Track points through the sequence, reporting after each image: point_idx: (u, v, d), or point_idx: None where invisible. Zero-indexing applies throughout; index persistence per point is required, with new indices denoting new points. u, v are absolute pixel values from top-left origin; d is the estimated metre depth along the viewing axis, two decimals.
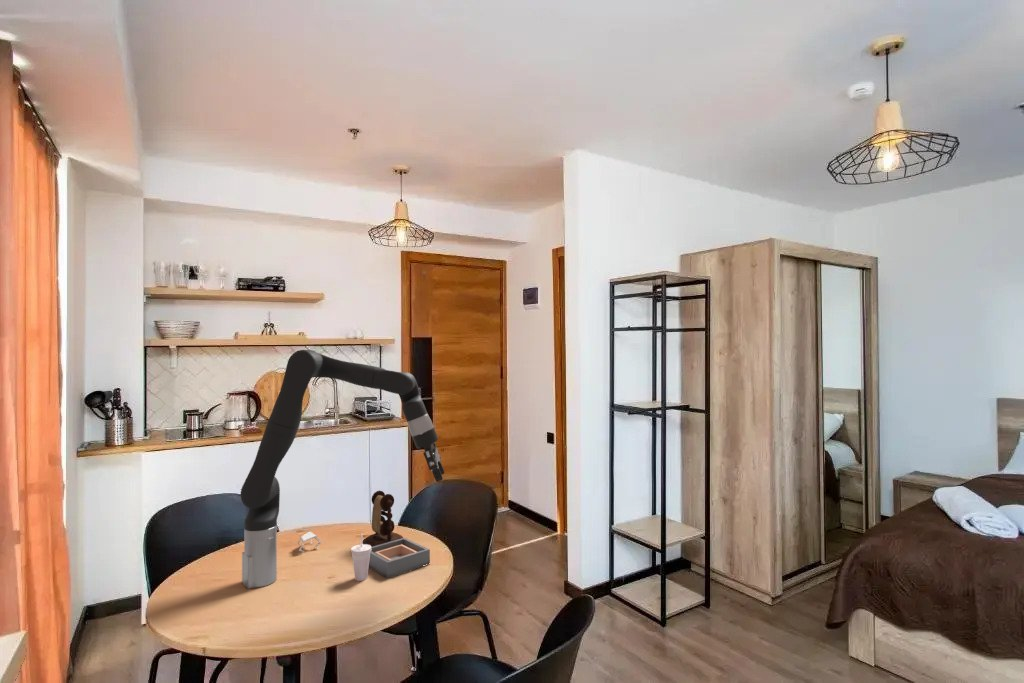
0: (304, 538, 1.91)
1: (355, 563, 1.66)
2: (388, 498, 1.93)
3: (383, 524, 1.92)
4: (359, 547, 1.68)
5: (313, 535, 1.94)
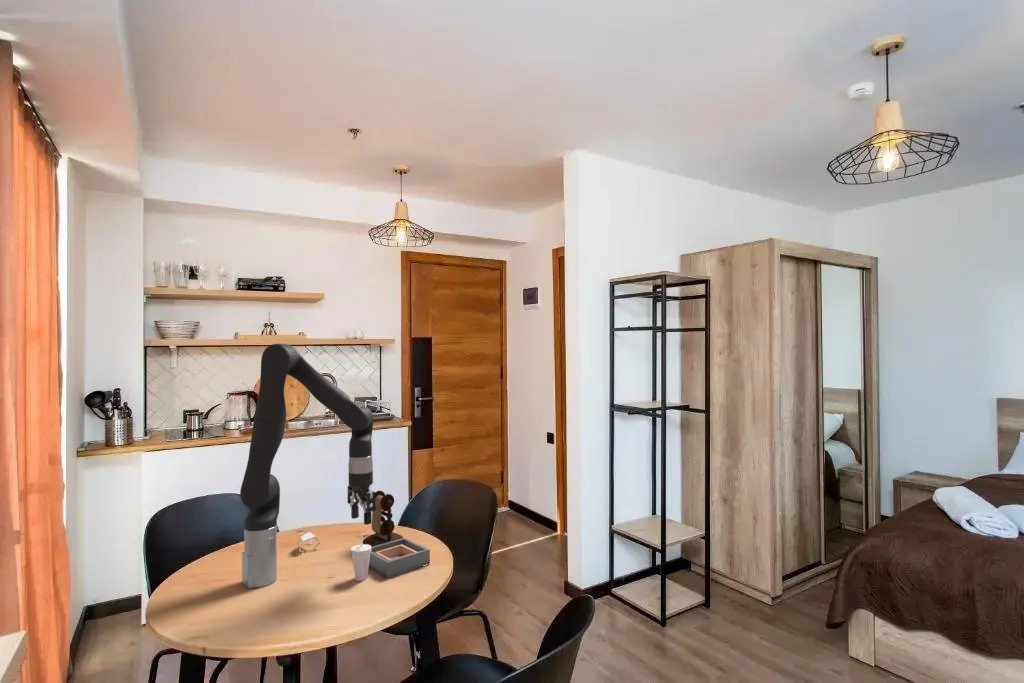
0: (303, 539, 1.90)
1: (355, 563, 1.66)
2: (388, 498, 1.93)
3: (383, 524, 1.92)
4: (359, 547, 1.68)
5: (312, 535, 1.93)
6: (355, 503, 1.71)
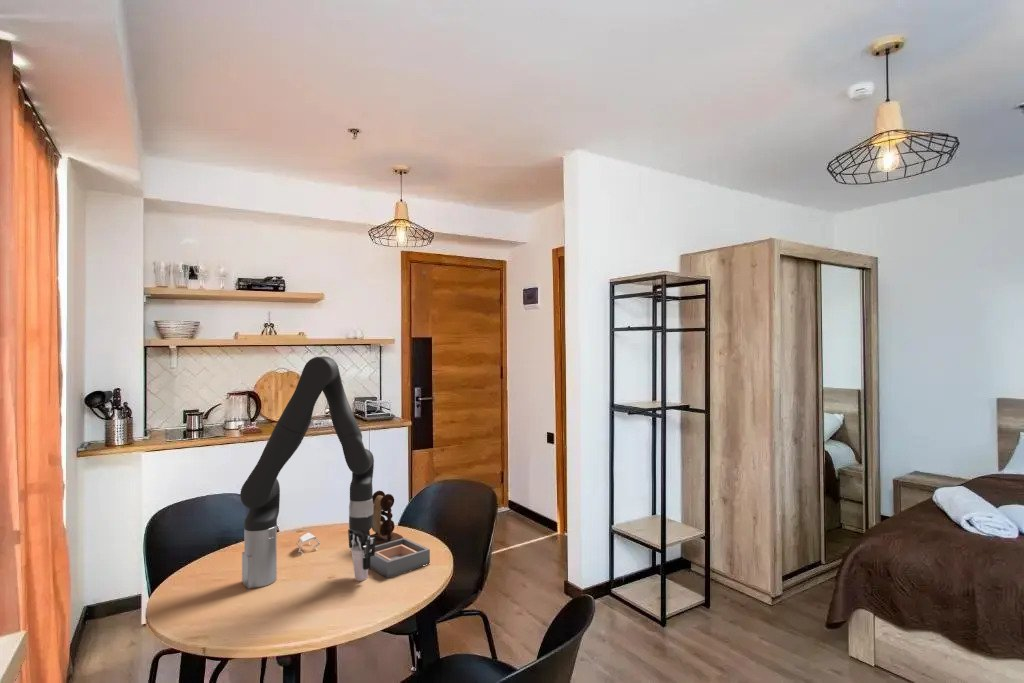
0: (303, 539, 1.90)
1: (355, 563, 1.66)
2: (388, 498, 1.93)
3: (383, 524, 1.92)
4: None
5: (312, 536, 1.93)
6: None
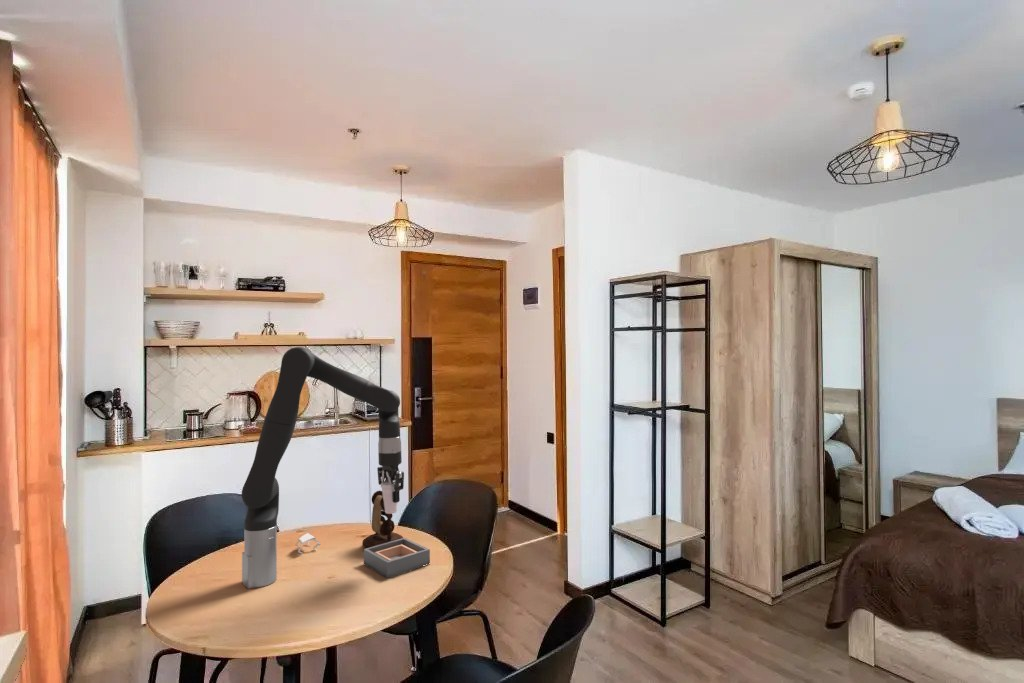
0: (303, 540, 1.89)
1: (385, 497, 1.75)
2: None
3: (383, 524, 1.92)
4: (388, 482, 1.77)
5: (311, 537, 1.92)
6: None
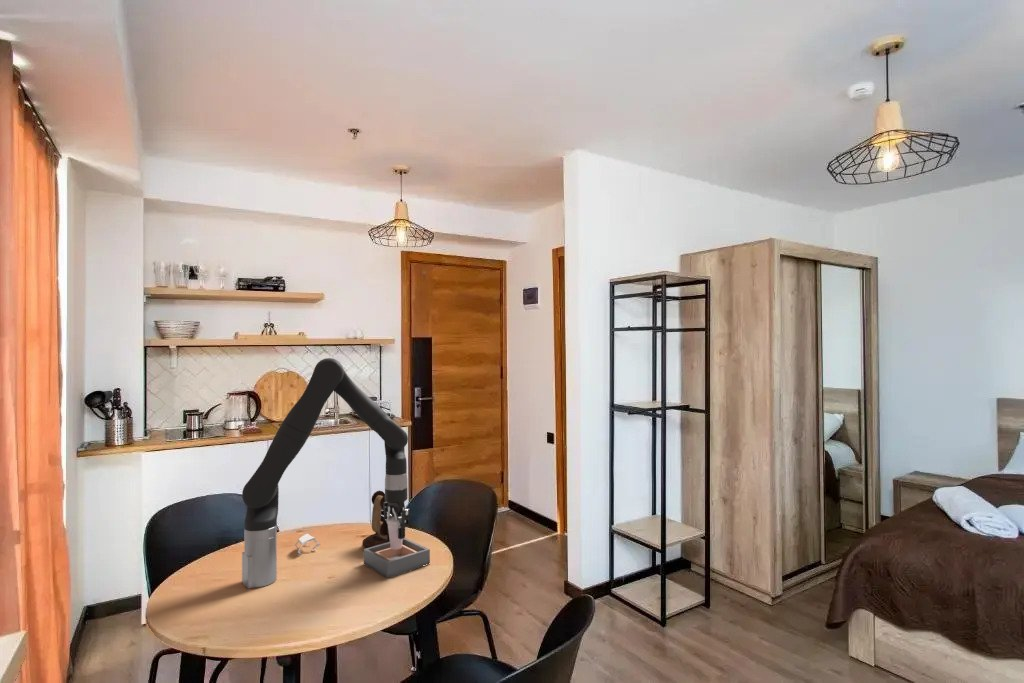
0: (302, 540, 1.89)
1: (391, 533, 1.77)
2: None
3: (383, 524, 1.92)
4: (394, 518, 1.79)
5: (311, 537, 1.92)
6: None
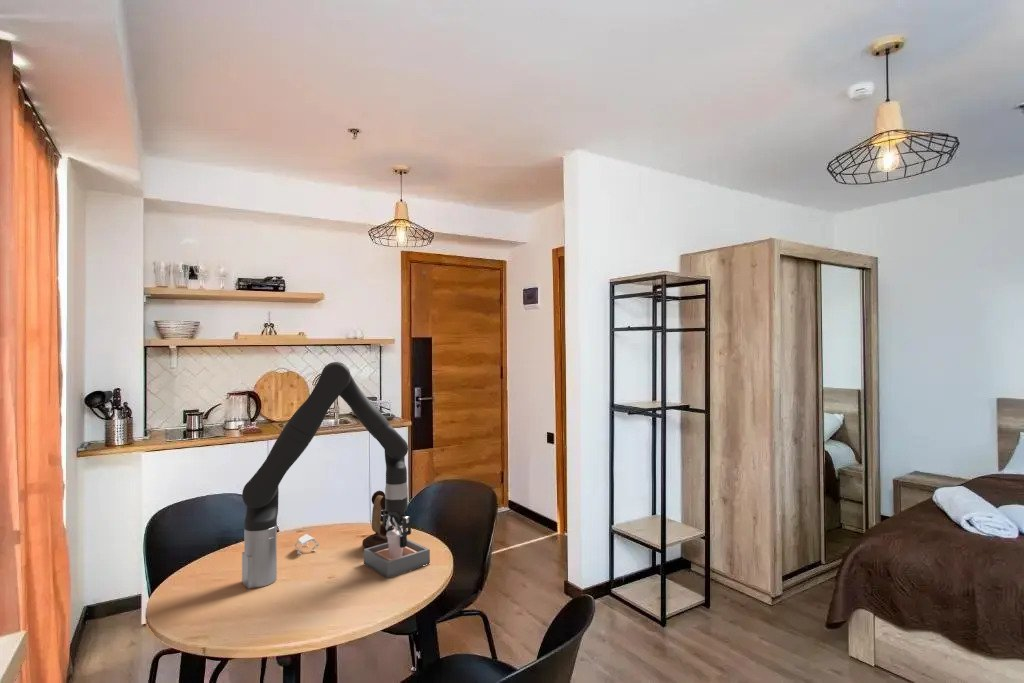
0: (302, 541, 1.88)
1: (390, 546, 1.77)
2: None
3: None
4: (394, 532, 1.79)
5: (310, 537, 1.91)
6: (390, 526, 1.82)
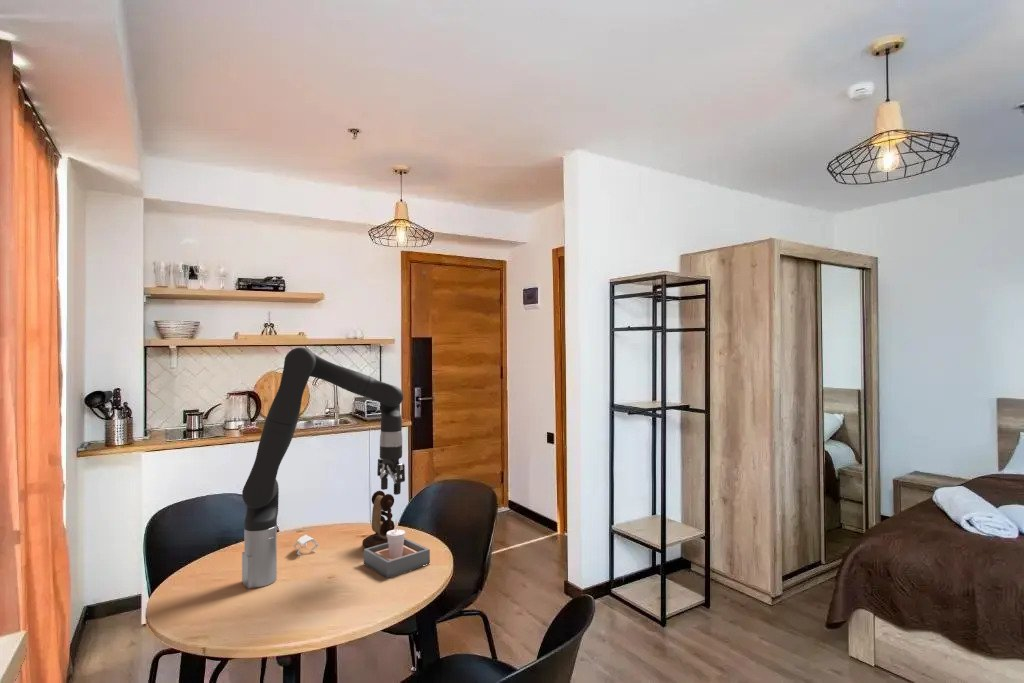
0: (301, 541, 1.87)
1: (390, 546, 1.77)
2: (388, 498, 1.93)
3: (383, 524, 1.92)
4: (394, 532, 1.79)
5: (310, 538, 1.91)
6: (385, 475, 1.83)
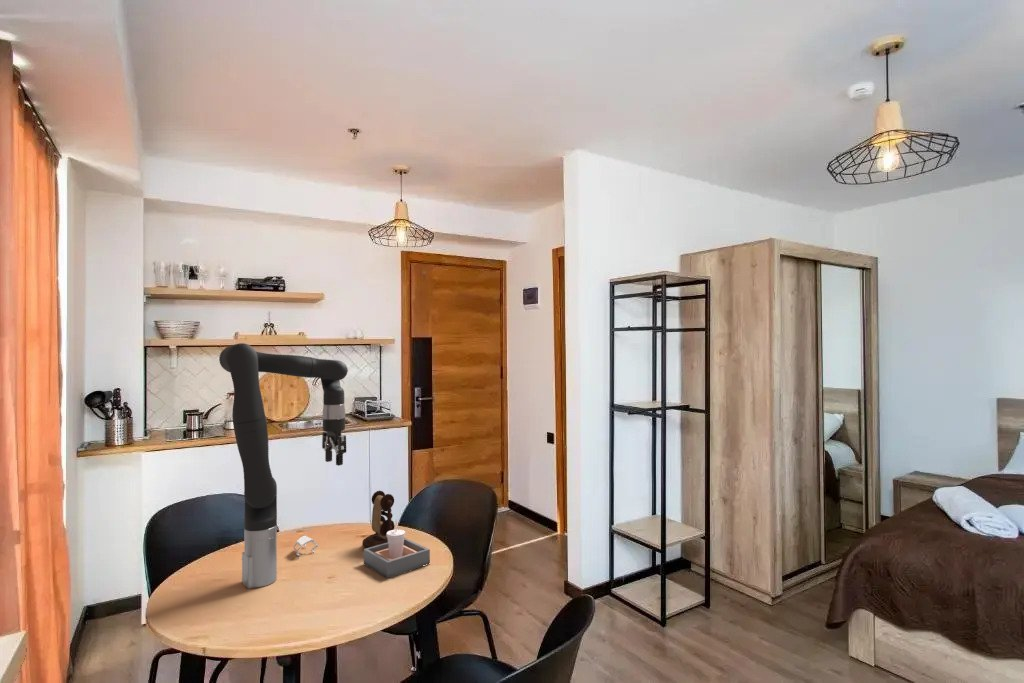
0: (301, 542, 1.87)
1: (390, 546, 1.77)
2: (388, 498, 1.93)
3: (383, 524, 1.92)
4: (394, 532, 1.79)
5: (309, 539, 1.90)
6: (329, 448, 1.88)
